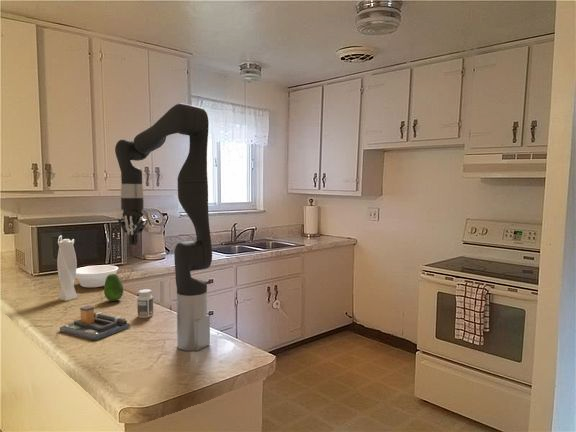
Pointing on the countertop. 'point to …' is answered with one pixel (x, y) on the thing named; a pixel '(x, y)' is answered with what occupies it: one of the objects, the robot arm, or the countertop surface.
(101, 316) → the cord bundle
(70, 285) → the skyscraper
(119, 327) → the breaker panel
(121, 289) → the avocado
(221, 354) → the countertop surface
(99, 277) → the bowl
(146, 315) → the pill bottle
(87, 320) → the lever
